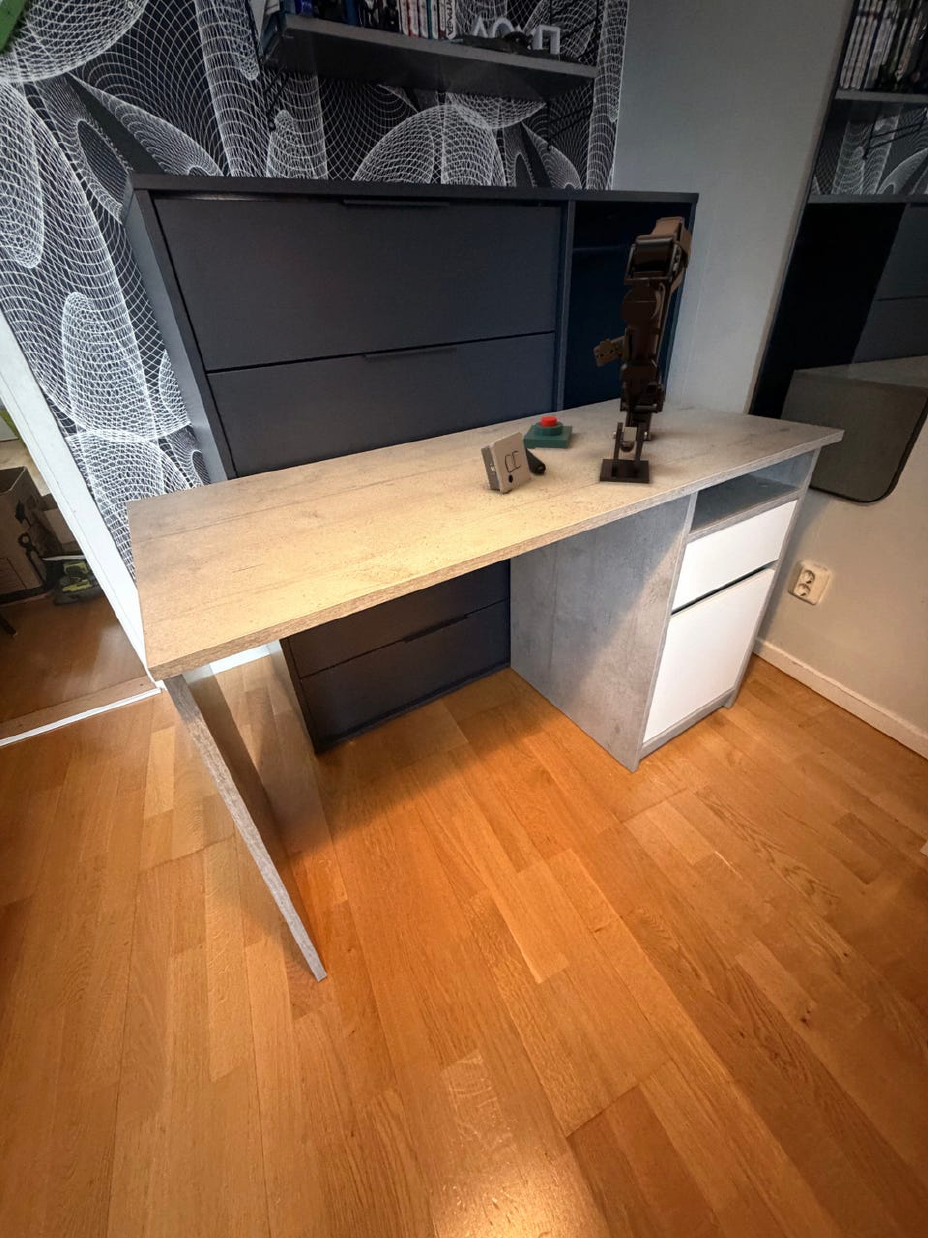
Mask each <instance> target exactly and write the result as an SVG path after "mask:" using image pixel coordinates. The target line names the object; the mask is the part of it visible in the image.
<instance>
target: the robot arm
mask: <svg viewBox="0 0 928 1238" xmlns="http://www.w3.org/2000/svg"><path fill="white" fill-rule="evenodd" d="M655 222H656V223H655V227H654V228H653V230H652V232H651V233H650V234H643V235H642V234H641V235H638V236H637V237H636V239H635V242H634V243H633V244H631V247H630V250H629V255H628V260H627V265H626V269H625V273H624V279H623V285H631V289H630V290H629V291H628V292H627V293H626V294H625V296H624V297H623V299H622V302H621V303H620V304H621V305H620V315H621V318H622V320H623V321H624V323H625V324H627V326H626V328H625V330H624V335H622V336H620V337H616V338H614V339H611V340H610V338H607V339H605V340H604V341H600V343H599V345H597V346H595V347H594V348H593V353H594V359H595V362H596V367H598V368H599V367H603V366H605V365H606V364H607V363H609V362H613V361H615V360H618V359H620V358H621V360H620V361H621V364H620V370H619V378H618V379H619V380H621V381H624V382H623V383H622V386H621V393H620V403H619V404H620V405H619V413H623V412H625V413H626V415H625V421H624V427H623V428H624V429H625V427H636V428H637V433H636V440H635V442H637V436H638V430H639V423H645V432H647V437H646V440H643V442H651V440H652V436H651V432H650V430H651V424H652V419H653V414H656V415H657V414H659V413H662V412H663V411H664V410H663V408H664V404H665V396H666V391H665V389H664V383H662V371H661V369H660V365H659V364H658V362H659V357H660V353H661V347H662V342H663V337H664V334H665V329H666V322H667V318H668V313H669V308H670V303H671V299H672V298H671V297H672V294H673V293H674V291H675V290H676V289H677V288H678V286H679V285H680V284H681V283H682V282H683V278H684V273H685V269H688V268H689V264H690V260H691V253H692V243H693V235H692V234H691V233H690V231H688V229H687V228H686V227H685V217H682V216H669V217H661V218H660V219H657V220H656V221H655ZM624 429H623V430H622V436H621V441H622V440H623V436H624Z"/></svg>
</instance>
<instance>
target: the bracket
mask: <svg viewBox="0 0 928 1238" xmlns="http://www.w3.org/2000/svg"><path fill="white" fill-rule="evenodd" d="M623 428H624V422H623V421H621V422H619V421H618V422H617V425H616V430H614V431H613V435H612V440H615V441H614V446H613V455H612V458H602V462H601V468H600V473H599V482H601V483H602V482H603V483H622V484H641V485H649V483H650V461H649V459H648V460H647V459H641V458H642V452H643V446H644V441H643V440H646V437H647V432H645V423H639V430H638V436H637V441H636V442H635V448H634V449H635V450H634V456H633V459H627V458H626V459H625V458H620V451H621V449H620V444H621V441H622V440H621V437H622V432H623V430H624V429H623Z"/></svg>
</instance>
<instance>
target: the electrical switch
mask: <svg viewBox="0 0 928 1238" xmlns="http://www.w3.org/2000/svg"><path fill="white" fill-rule="evenodd" d="M480 452H481V455H482V459H483V464H484V467H485V471H486V475H487V479H488V483H489V488H490V490H499V492H500V493H501V494H505V493H508V492H510V491H511V490H513V489H515V488H516V487H518V486H519V485H522V484H523V483H525V482H527V481H528V480H530V479H531V470H529V466H528V462H527V457H526V453H525V448H524V443H523V434H522V433H521V431H514V432H512V433H510V434H508V435H505V436H503V437H501V438H499V439H496V440H494V441H492V442H490V443H489V445H487V446H485V447H482V448H481V449H480Z"/></svg>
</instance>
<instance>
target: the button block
mask: <svg viewBox="0 0 928 1238" xmlns="http://www.w3.org/2000/svg"><path fill="white" fill-rule="evenodd" d="M572 435H573V425H564V423H563V422H562V421H558V420H557V426H552V427H544V426H541V421H538V422H536V423H534V424H531V425H530V427H529V429H528V430H527V432H526V434H525V435H524V437H522V439H523V443H524V447H525V448H526V449H527V450H536V449H560V450H562V449H563V450H567V448H568V445H569V443H570V440H571V438H572Z"/></svg>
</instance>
